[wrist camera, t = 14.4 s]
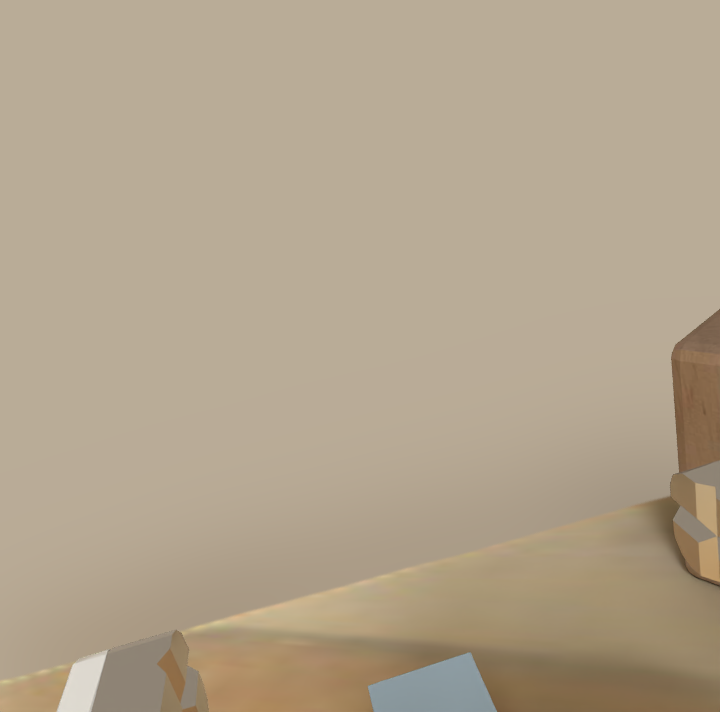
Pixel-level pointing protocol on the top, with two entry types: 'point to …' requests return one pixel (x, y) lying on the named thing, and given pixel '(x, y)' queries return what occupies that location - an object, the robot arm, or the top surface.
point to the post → (434, 689)
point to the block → (698, 399)
